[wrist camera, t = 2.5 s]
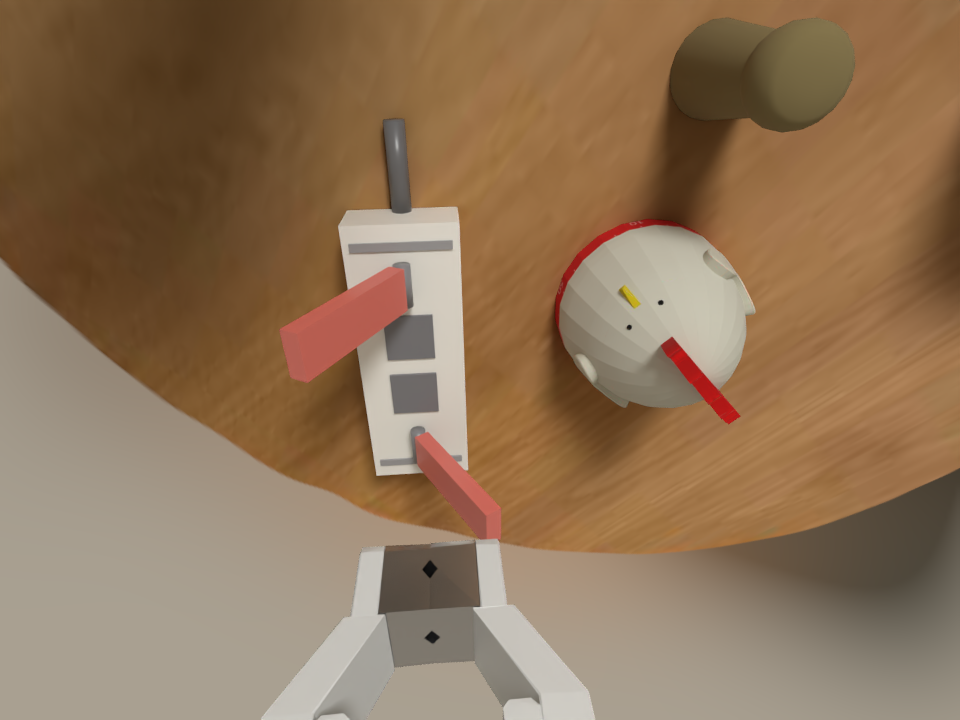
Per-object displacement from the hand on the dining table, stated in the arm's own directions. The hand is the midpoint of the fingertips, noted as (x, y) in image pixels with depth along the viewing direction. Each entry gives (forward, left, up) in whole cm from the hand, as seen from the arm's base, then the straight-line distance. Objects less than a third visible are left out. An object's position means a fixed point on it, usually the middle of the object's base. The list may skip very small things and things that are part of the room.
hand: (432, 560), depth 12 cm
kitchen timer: (+17, +7, -31) cm, 36 cm away
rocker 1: (+2, -5, -26) cm, 27 cm away
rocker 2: (+12, -14, -26) cm, 32 cm away
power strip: (+5, -7, -31) cm, 32 cm away
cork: (+6, +20, -31) cm, 38 cm away
